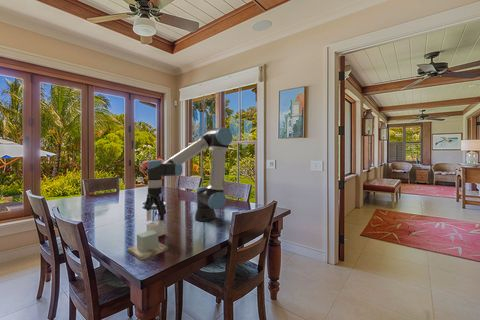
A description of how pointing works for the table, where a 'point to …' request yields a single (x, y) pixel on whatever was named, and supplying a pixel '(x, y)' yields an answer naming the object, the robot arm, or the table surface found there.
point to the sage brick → (147, 240)
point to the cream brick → (156, 228)
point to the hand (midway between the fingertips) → (154, 223)
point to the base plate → (148, 253)
